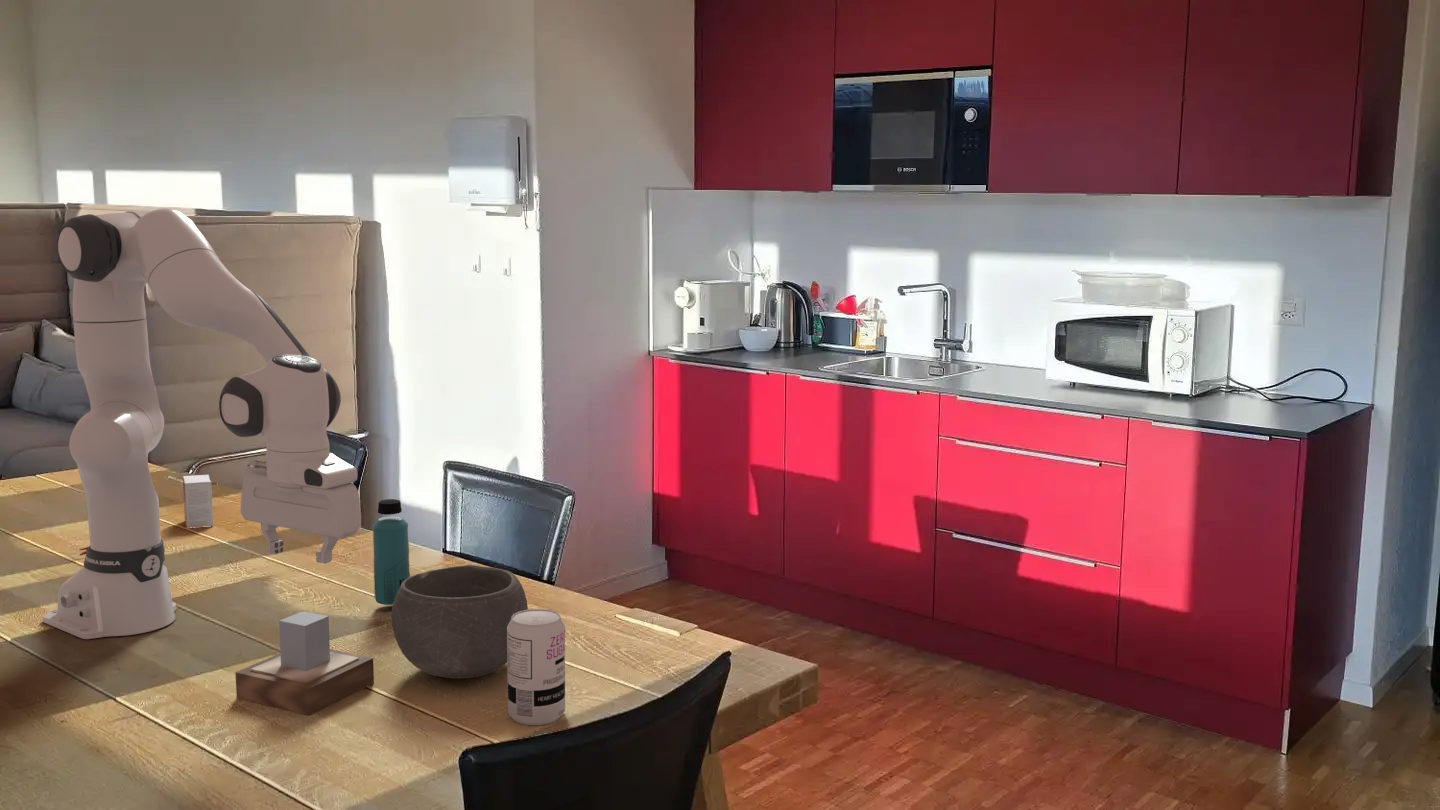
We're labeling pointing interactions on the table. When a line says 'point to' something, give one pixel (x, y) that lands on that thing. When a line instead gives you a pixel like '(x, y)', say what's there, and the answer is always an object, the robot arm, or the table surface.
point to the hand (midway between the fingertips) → (299, 557)
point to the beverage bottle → (390, 552)
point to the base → (304, 682)
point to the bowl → (457, 619)
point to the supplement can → (536, 667)
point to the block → (304, 640)
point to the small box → (197, 501)
